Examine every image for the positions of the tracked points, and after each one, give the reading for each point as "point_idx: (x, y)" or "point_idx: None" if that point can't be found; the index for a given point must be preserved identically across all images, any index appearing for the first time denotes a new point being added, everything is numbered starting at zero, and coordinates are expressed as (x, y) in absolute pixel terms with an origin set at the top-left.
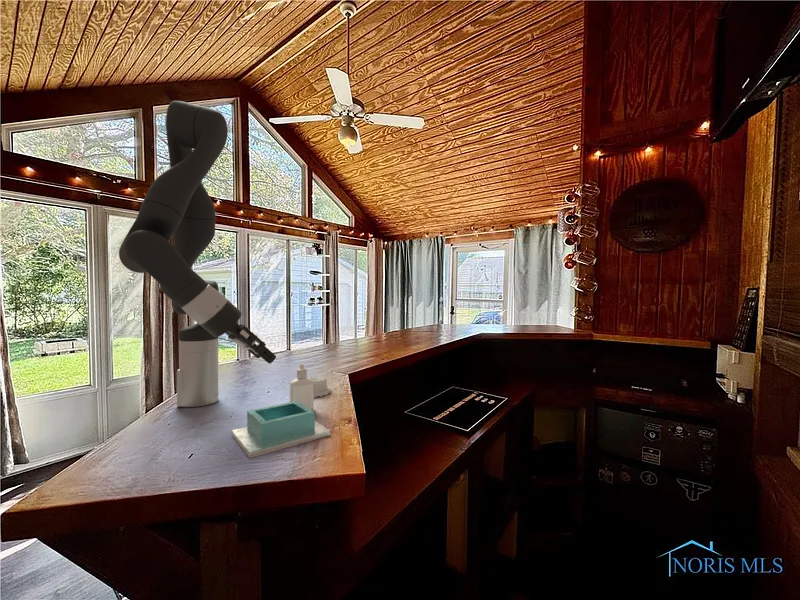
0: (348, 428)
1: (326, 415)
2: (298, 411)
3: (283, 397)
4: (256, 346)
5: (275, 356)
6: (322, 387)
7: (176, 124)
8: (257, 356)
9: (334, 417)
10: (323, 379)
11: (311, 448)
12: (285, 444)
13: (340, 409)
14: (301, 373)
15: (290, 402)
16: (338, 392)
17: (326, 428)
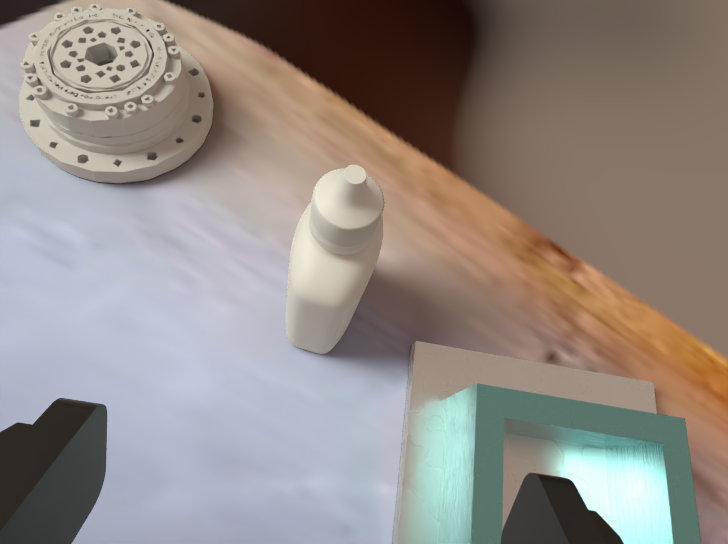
0: (618, 298)
1: (448, 266)
2: (550, 429)
3: (45, 241)
4: (21, 528)
5: (567, 485)
6: (186, 83)
7: None
8: (89, 502)
9: (489, 260)
10: (157, 35)
11: (708, 506)
12: None
13: (425, 189)
14: (372, 227)
15: (478, 422)
16: (223, 52)
17: (628, 379)
